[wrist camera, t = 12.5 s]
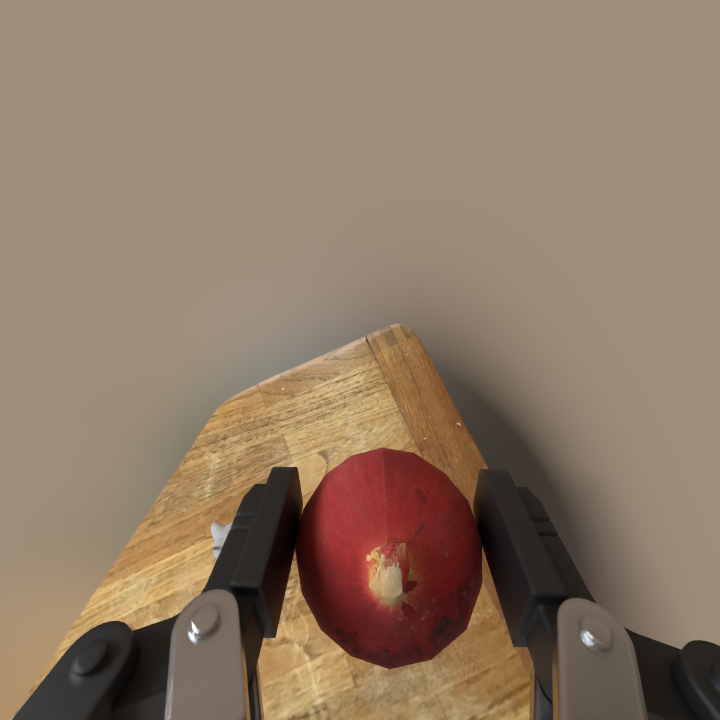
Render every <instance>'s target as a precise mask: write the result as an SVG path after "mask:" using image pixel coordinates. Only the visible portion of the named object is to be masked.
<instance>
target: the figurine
mask: <svg viewBox="0 0 720 720" xmlns="http://www.w3.org/2000/svg"><path fill="white" fill-rule="evenodd" d="M232 523H233V522H231V523H230V524H228V525H226V526H224V525H221V524H219V523H216V522H215V521H214V523H212V526H211V533H212V536H213V539H214V542H215V544H214V546H213V554H214V557H215V558H216V559H217V558H218V556H219V554H220V551H221V549H222V547H223V544H224V542H225V540H226V537H227V535H228V533H229V530H231V525H232Z"/></svg>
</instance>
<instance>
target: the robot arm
mask: <svg viewBox="0 0 720 720" xmlns="http://www.w3.org/2000/svg"><path fill="white" fill-rule="evenodd" d="M302 509H303V500H302V493H301V486H300V480H299V473H298V469H297V467H273V468H272V470H271V472H270V475H269V478H268V481H267V483H266V484H255V485H254V486H253V487H252V488H251V490H250V491H249V492H248V493H247V494H246V495H245V496H244V497H243V499H242V502H241V504H240V507H239V509H238V511H237V515H236V517H235V518H234V521H233V523H232V525H231V530H229V533H228V535H227V537H226V540H225V542H224V544H223V547H222V549H221V551H220V554H219V556H218V558H217V561H216V563H215V566H214V568H213V570H212V573H211V575H210V577H209V580H208V582H207V584H206V586H205V588H204V590H203V591H202V593H201V594H200V595H199V596H197V597H195V598H194V599H193V600H192V601H190V602H189V603H188V604H187V605H186V607H185V608H184V609H183V610H182V612H181V613H179V614H178V615H176V616H174V617H172V618H169V619H167V620H164V621H161V622H158V623H155V624H152V625H149V626H146V627H143V628H140V629H137V630H134V631H131V630H130V628H129V627H128V626H127V625H126V624H125V623H123V622H120V621H110V622H106V623H103V624H101V625H98V626H96V627H94V628H93V629H91V630H89V631H88V632H86V633H85V634H84V635H82V636H81V637H80V638H79V639H78V640H77V641H76V642H75V643H73V644H72V645H71V647H70V648H69V649H68V650H67V651H66V652H65V654H64V655H63V656H62V657H61V659H60V660H59V661H58V662H57V664H56V665H55V666H54V667H53V669H52V670H51V671H50V673H49V674H48V675H47V676H46V678H45V679H44V680H43V681H42V683H41V684H40V685H39V686H38V688H37V689H36V690H35V691H34V693H33V694H32V695H31V696H30V698H29V699H28V700H27V701H26V703H25V704H24V705H23V707H22V708H21V709H20V710H19V712H18V713H17V714H16V715H15V717H14V718H13V719H12V720H264V712H263V703H262V694H261V685H260V675H259V666H258V658H259V654H260V650H261V646H262V642H263V638H275V637H276V633H277V628H278V624H279V619H280V614H281V610H282V605H283V601H284V596H285V591H286V587H287V582H288V578H289V573H290V569H291V564H292V559H293V555H294V550H295V546H296V541H297V536H298V532H299V527H300V523H301V518H302ZM473 511H474V518H475V522H476V525H477V528H478V531H479V534H480V536H481V540H482V546H483V549H484V552H485V555H486V559H487V562H488V565H489V568H490V572H491V575H492V578H493V581H494V585H495V588H496V591H497V594H498V598H499V601H500V604H501V607H502V611H503V614H504V617H505V620H506V624H507V627H508V630H509V634H510V637H511V640H512V643H513V647H528V649H529V652H530V655H531V658H532V661H533V666H532V669H531V688H530V719H529V720H720V646H718V645H716V644H713V643H710V642H707V641H700V640H698V641H691V642H689V643H687V644H686V645H685V646H684V647H683V648H682V650H681V649H678V648H675V647H672V646H669V645H667V644H664V643H661V642H658V641H655V640H653V639H650V638H647V637H645V636H642V635H639V634H636V633H634V632H632V631H630V630H628V629H626V628H624V627H623V626H622V625H621V624H620V622H619V621H618V620H617V619H616V618H615V617H614V616H613V615H612V614H611V613H609V612H608V611H607V610H606V609H604V608H603V607H601V606H599V605H598V604H597V603H596V602H595V600H594V599H593V597H592V596H591V594H590V593H589V591H588V589H587V587H586V585H585V583H584V581H583V580H582V578H581V576H580V574H579V572H578V570H577V568H576V567H575V565H574V563H573V561H572V559H571V557H570V555H569V554H568V552H567V550H566V548H565V546H564V544H563V542H562V541H561V539H560V537H558V535H557V531H556V529H555V528H554V526H553V524H552V522H550V518H549V516H548V515H547V513H546V511H545V509H544V507H543V505H542V503H541V502H540V501H539V500H538V499H537V498H536V497H535V496H534V495H533V494H532V493H531V492H530V491H529V490H528V489H527V488H525V487H516V486H515V484H514V482H513V480H512V478H511V476H510V474H509V472H508V471H507V470H506V469H481V470H480V472H479V476H478V481H477V486H476V491H475V497H474V502H473Z"/></svg>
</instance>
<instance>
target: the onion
mask: <svg viewBox="0 0 720 720" xmlns="http://www.w3.org/2000/svg"><path fill="white" fill-rule="evenodd" d="M295 552H296V558H297V565H298V572H299V578H300V585H301V591H302V594H303V596H304V598H305V600H306V602H307V604H308V606H309V608H310V609H311V611H312V613H313V615H314V617H315V619H316V621H317V623H318V625H319V627H320V628H321V630H322V631H323V632H324V633H325V634H326V635H328V636H329V637H330V638H331V639H332V640H333V641H334V642H336V643H337V644H338V645H339V646H340V647H341V648H342V649H344V650H345V651H346V652H347V653H348V654H349V655H350V656H352V657H355V658H358V659H361V660H364V661H367V662H370V663H373V664H376V665H379V666H382V667H385V668H388V669H392V668H396V667H401V666H405V665H409V664H414V663H418V662H423V661H427V660H432V659H433V658H434V657H435V656H436V655H437V654H438V653H440V652H441V651H442V650H443V649H444V648H445V647H447V646H448V645H449V644H450V643H451V642H452V641H454V640H455V639H456V638H457V637H458V636H459V635H461V634H462V633H463V632H464V631H465V630H466V629H467V626H468V624H469V621H470V618H471V615H472V612H473V609H474V606H475V603H476V600H477V597H478V594H479V592H480V589H481V586H482V540H481V536H480V534H479V531H478V528H477V525H476V522H475V519H474V516H473V514H472V511H471V508H470V505H469V502H468V500H467V499H466V498H465V497H464V496H463V494H462V493H461V492H460V491H459V490H458V488H457V487H456V486H455V485H454V483H453V482H452V481H451V480H450V479H449V477H448V476H447V475H446V474H445V473H444V472H442V471H441V470H439V469H438V468H436V467H435V466H433V465H432V464H430V463H429V462H427V461H426V460H424V459H423V458H421V457H419V456H418V455H416V454H415V453H411V452H405V451H399V450H393V449H387V448H379V449H375V450H372V451H368V452H364V453H360V454H356V455H353V456H351V457H349V458H348V459H346V460H345V461H344V462H342V463H341V464H340V465H338V466H337V467H336V468H334V469H333V470H331V471H330V472H329V473H327V474H326V475H325V476H324V478H323V479H322V481H321V482H320V484H319V485H318V487H317V489H316V490H315V492H314V493H313V495H312V496H311V498H310V500H309V501H308V503H307V504H306V506H305V508H304V509H303V514H302V518H301V523H300V527H299V532H298V536H297V541H296V546H295Z"/></svg>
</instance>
